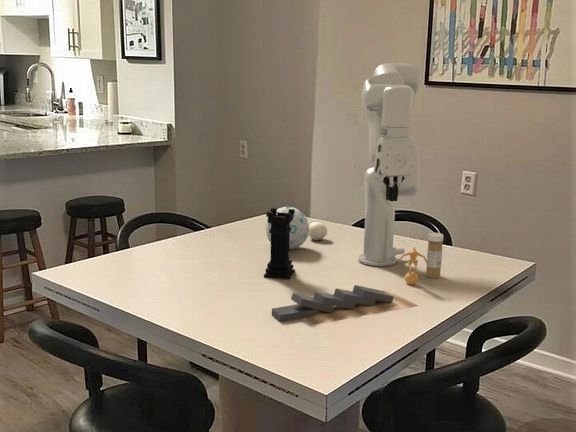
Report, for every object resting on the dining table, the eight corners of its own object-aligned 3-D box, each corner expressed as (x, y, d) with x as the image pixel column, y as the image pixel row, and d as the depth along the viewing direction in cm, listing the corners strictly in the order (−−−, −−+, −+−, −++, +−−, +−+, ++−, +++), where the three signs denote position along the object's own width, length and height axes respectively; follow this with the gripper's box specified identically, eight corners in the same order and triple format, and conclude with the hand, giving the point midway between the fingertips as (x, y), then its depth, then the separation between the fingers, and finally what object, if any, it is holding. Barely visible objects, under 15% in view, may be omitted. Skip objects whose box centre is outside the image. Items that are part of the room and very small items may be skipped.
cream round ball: (323, 243, 236) (323, 225, 235) (304, 240, 239) (305, 223, 238) (330, 239, 242) (330, 221, 241) (312, 236, 245) (312, 219, 244)
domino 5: (383, 291, 180) (354, 284, 175) (393, 296, 176) (364, 290, 171) (381, 297, 180) (352, 291, 175) (391, 303, 176) (362, 296, 171)
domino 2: (324, 300, 172) (293, 292, 167) (333, 306, 167) (302, 298, 162) (322, 306, 172) (290, 299, 167) (331, 313, 168) (299, 305, 163)
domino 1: (306, 303, 169) (271, 308, 165) (315, 309, 165) (280, 315, 161) (306, 309, 170) (271, 315, 165) (315, 316, 165) (280, 322, 161)
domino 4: (365, 293, 177) (335, 288, 173) (375, 299, 173) (345, 294, 168) (363, 300, 178) (333, 294, 173) (373, 306, 173) (343, 300, 168)
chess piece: (289, 279, 195) (291, 214, 190) (263, 277, 196) (264, 212, 192) (294, 271, 203) (296, 209, 198) (269, 269, 204) (270, 207, 200)
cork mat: (388, 291, 186) (388, 289, 186) (418, 307, 174) (418, 305, 174) (288, 306, 172) (288, 305, 172) (313, 325, 160) (313, 324, 160)
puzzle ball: (258, 251, 224) (258, 209, 221) (276, 241, 237) (276, 201, 234) (299, 257, 218) (300, 213, 215) (314, 246, 232) (316, 205, 228)
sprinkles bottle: (435, 273, 204) (438, 231, 201) (443, 277, 200) (446, 235, 197) (422, 274, 202) (425, 232, 199) (430, 279, 198) (433, 236, 195)
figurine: (425, 283, 193) (428, 244, 191) (426, 290, 188) (428, 250, 185) (397, 281, 195) (399, 243, 192) (396, 288, 189) (399, 248, 186)
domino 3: (345, 297, 175) (315, 291, 170) (355, 303, 170) (324, 297, 165) (344, 303, 175) (313, 297, 170) (353, 309, 170) (322, 303, 166)
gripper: (380, 135, 167) (376, 205, 171) (426, 133, 174) (422, 201, 178) (364, 132, 174) (361, 199, 178) (409, 131, 180) (405, 196, 184)
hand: (391, 200), depth 178 cm, fingers closed
